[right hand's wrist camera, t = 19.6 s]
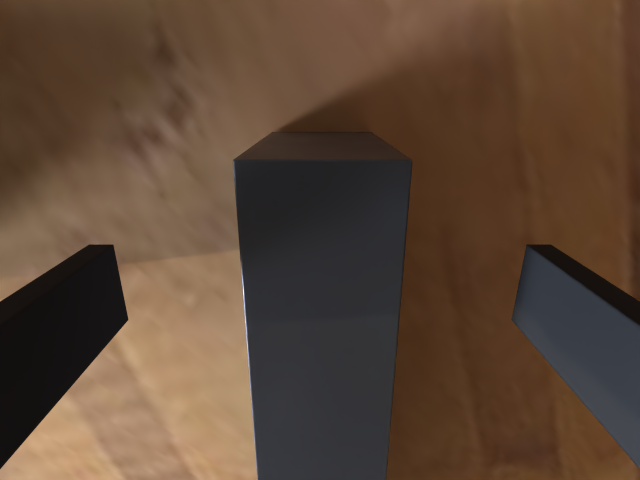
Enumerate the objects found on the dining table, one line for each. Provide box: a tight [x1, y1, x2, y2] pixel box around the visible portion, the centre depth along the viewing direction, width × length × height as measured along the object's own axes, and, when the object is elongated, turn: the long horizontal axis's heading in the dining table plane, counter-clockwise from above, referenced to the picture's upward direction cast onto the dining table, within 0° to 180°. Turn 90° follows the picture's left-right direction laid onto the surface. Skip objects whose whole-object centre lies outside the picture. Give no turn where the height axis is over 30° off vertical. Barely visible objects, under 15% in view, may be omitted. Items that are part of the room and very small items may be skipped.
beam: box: [233, 132, 412, 480], centre depth 20 cm, size 5×30×9 cm, turn 0°
